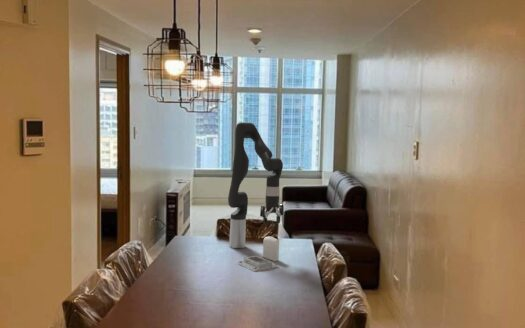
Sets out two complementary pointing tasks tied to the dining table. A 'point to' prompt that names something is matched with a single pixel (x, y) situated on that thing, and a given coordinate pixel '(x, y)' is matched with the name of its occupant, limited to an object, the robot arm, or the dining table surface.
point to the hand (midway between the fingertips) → (271, 223)
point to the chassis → (257, 263)
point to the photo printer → (271, 248)
